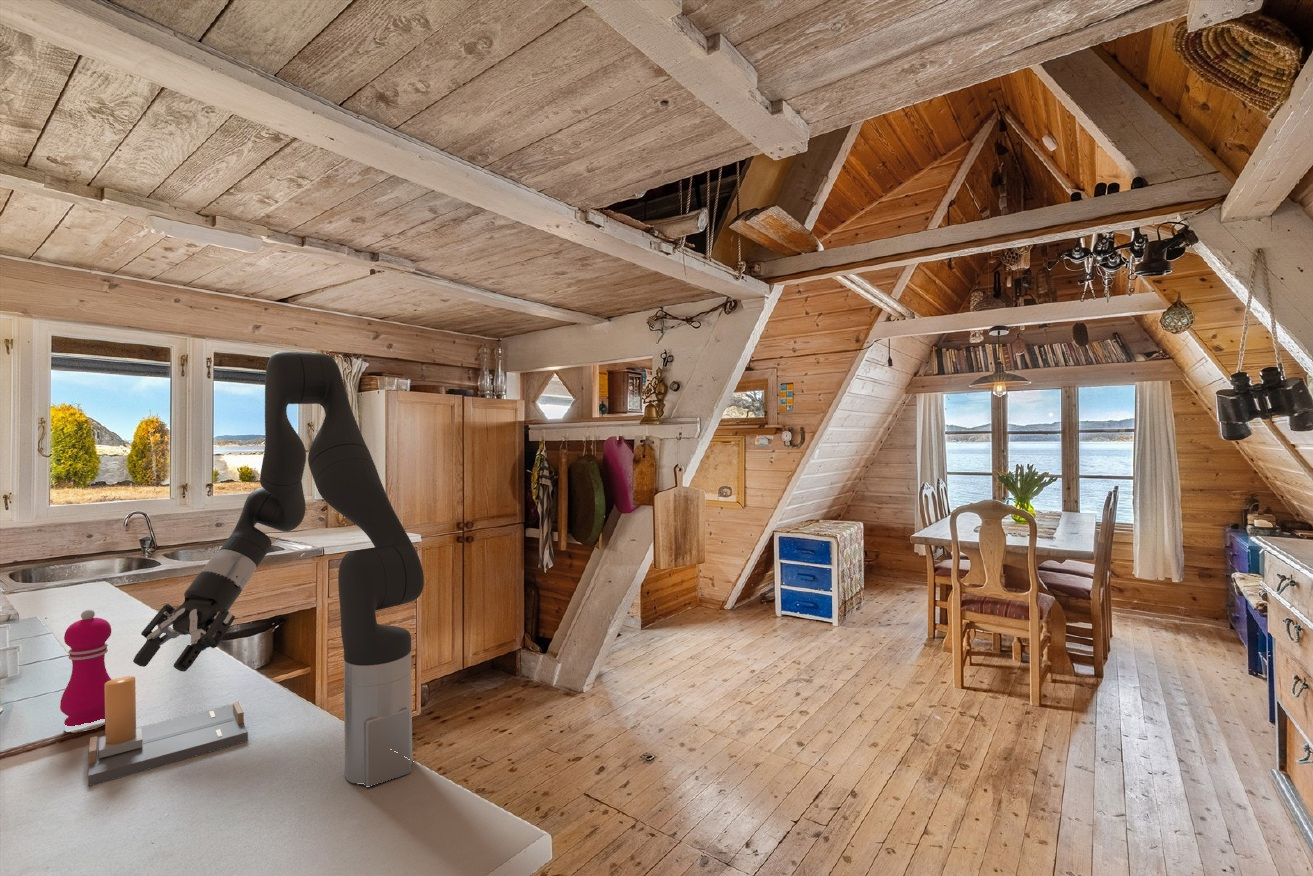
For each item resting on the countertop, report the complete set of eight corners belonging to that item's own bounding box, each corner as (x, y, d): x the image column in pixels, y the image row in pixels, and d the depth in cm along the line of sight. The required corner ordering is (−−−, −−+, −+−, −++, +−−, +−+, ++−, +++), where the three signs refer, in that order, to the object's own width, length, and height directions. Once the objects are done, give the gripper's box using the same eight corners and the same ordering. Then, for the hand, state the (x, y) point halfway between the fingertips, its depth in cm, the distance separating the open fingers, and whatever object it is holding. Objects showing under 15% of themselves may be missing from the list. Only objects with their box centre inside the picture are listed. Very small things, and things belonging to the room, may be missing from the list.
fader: (142, 747, 96) (141, 681, 95) (99, 758, 92) (98, 690, 92) (141, 735, 99) (140, 672, 99) (99, 745, 96) (98, 680, 96)
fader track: (247, 741, 101) (247, 721, 101) (88, 786, 88) (88, 763, 88) (235, 712, 111) (234, 693, 111) (91, 748, 99) (90, 728, 99)
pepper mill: (82, 737, 102) (81, 617, 102) (48, 733, 104) (47, 614, 104) (128, 717, 110) (126, 605, 109) (95, 713, 111) (94, 602, 111)
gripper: (176, 567, 111) (107, 653, 100) (240, 571, 108) (176, 660, 97) (204, 589, 117) (142, 673, 106) (266, 594, 113) (208, 681, 102)
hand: (158, 667), depth 101 cm, fingers open, 8 cm apart
